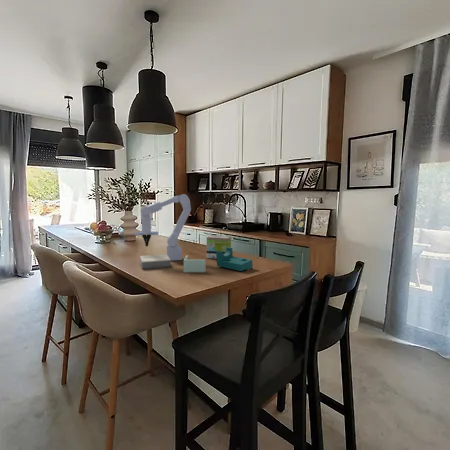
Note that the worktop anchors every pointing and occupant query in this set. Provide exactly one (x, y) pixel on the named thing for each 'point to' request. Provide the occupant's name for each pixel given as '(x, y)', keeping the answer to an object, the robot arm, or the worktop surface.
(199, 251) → the worktop surface
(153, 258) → the lid
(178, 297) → the worktop surface
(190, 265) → the l-shaped corner panel
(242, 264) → the teal stepped block
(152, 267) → the storage box
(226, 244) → the tea box
